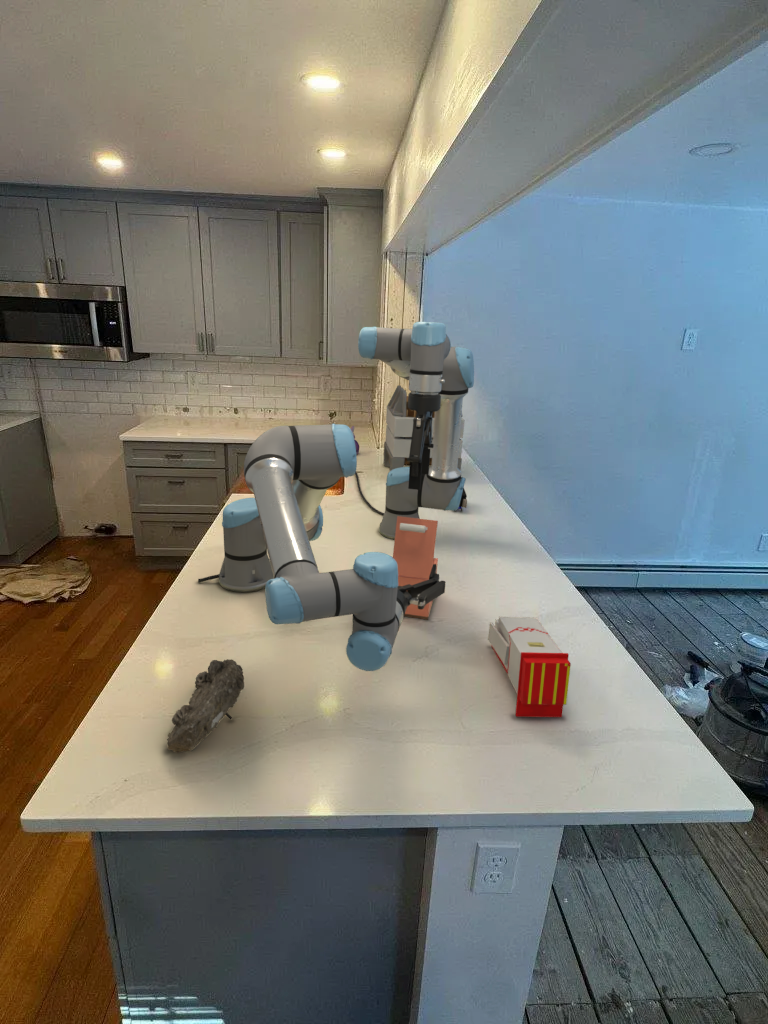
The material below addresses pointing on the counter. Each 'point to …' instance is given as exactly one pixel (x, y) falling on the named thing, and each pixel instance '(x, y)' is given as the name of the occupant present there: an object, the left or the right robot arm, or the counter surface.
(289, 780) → the counter surface
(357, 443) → the figurine
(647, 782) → the counter surface
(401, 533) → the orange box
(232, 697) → the fossil
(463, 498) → the figurine character
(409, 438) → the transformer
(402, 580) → the chest
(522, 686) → the toy
